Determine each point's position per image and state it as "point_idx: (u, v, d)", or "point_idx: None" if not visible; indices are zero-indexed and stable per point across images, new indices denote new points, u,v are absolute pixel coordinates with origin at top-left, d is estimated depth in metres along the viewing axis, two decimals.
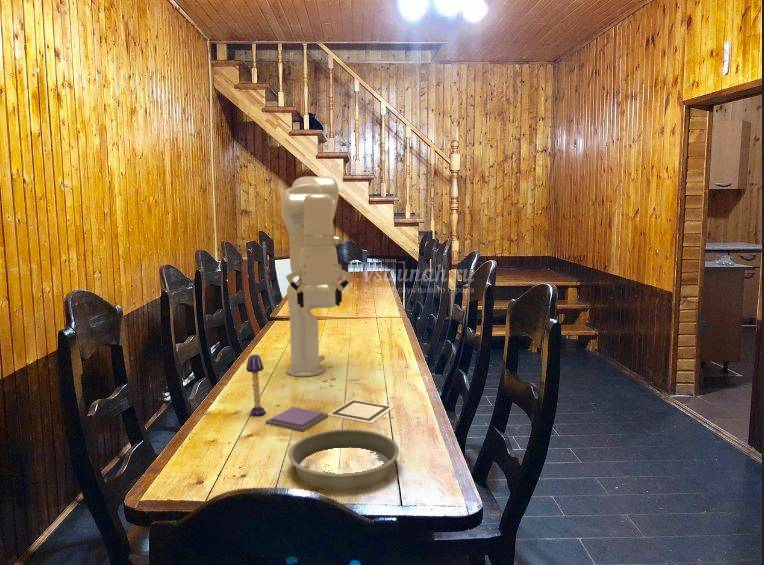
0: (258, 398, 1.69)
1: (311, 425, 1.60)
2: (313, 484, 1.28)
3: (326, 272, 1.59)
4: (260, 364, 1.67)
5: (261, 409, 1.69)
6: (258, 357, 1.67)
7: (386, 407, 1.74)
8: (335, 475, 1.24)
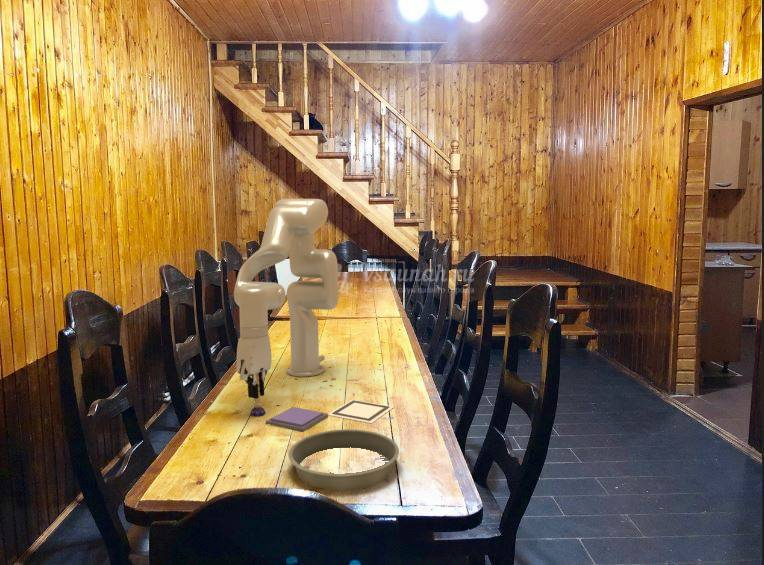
0: (258, 398, 1.69)
1: (311, 425, 1.60)
2: (313, 484, 1.28)
3: (265, 359, 1.68)
4: None
5: (261, 409, 1.69)
6: None
7: (386, 407, 1.74)
8: (335, 475, 1.24)
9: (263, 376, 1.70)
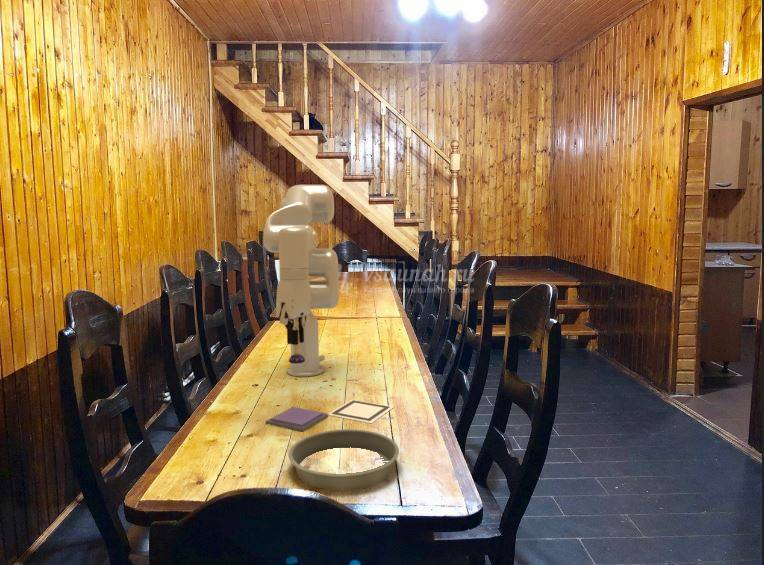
0: (298, 344, 1.61)
1: (311, 425, 1.60)
2: (313, 484, 1.28)
3: (305, 303, 1.61)
4: None
5: (301, 356, 1.62)
6: None
7: (386, 407, 1.74)
8: (335, 475, 1.24)
9: (303, 322, 1.62)
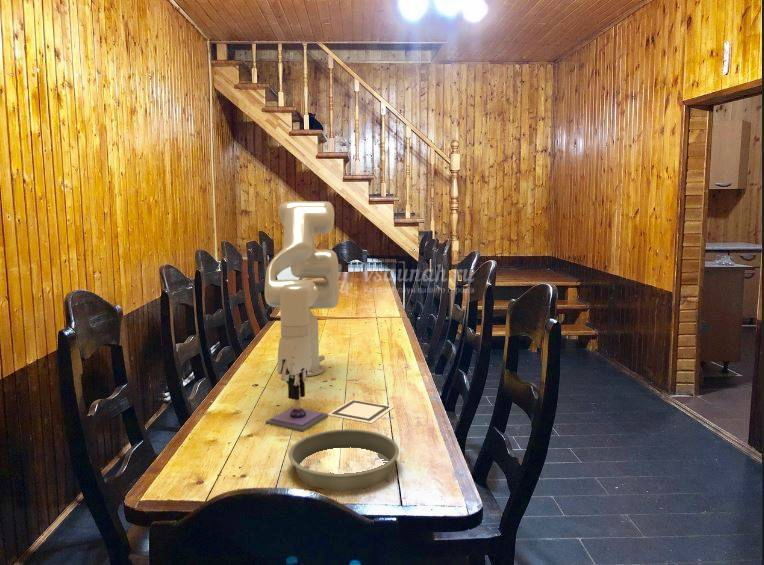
0: (299, 399, 1.64)
1: (311, 425, 1.60)
2: (313, 484, 1.28)
3: (306, 359, 1.63)
4: None
5: (302, 410, 1.64)
6: None
7: (386, 407, 1.74)
8: (335, 475, 1.24)
9: (304, 377, 1.64)
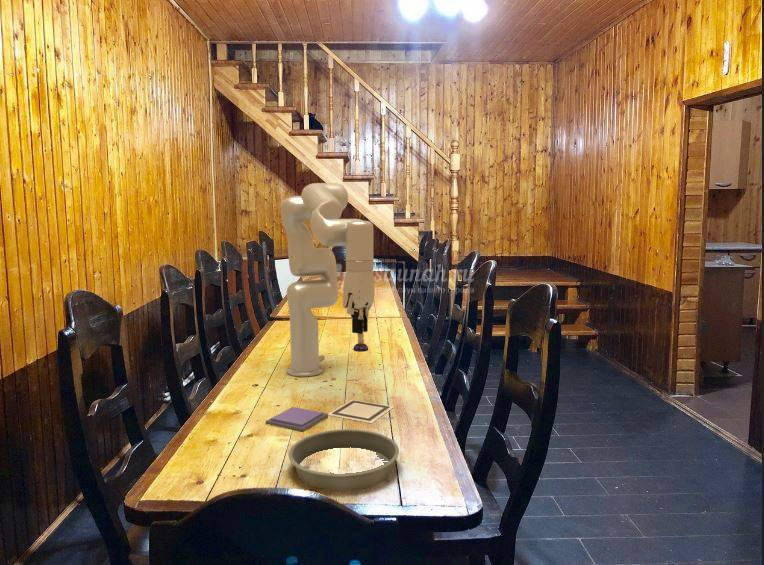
0: (362, 334, 1.68)
1: (311, 425, 1.60)
2: (313, 484, 1.28)
3: (370, 294, 1.68)
4: None
5: (365, 345, 1.68)
6: None
7: (386, 407, 1.74)
8: (335, 475, 1.24)
9: (367, 312, 1.69)
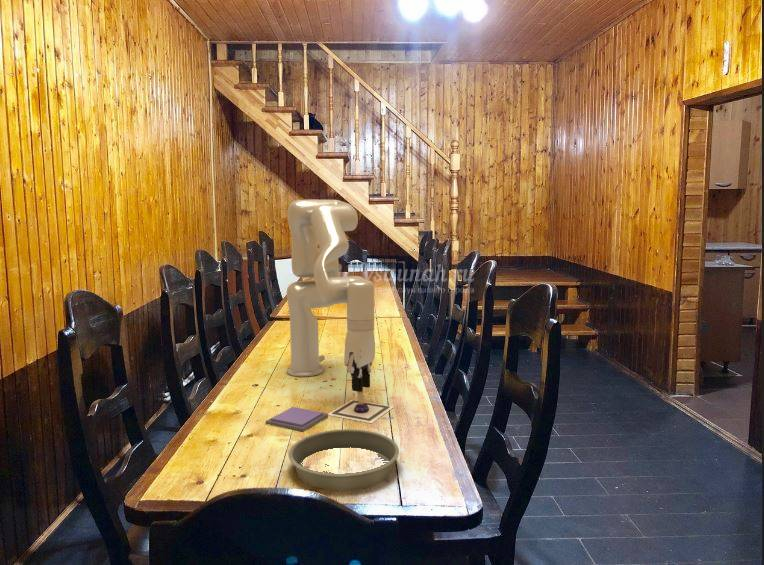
0: (362, 395, 1.71)
1: (311, 425, 1.60)
2: (313, 484, 1.28)
3: (371, 352, 1.70)
4: None
5: (365, 405, 1.71)
6: None
7: (386, 407, 1.74)
8: (335, 475, 1.24)
9: (369, 368, 1.72)
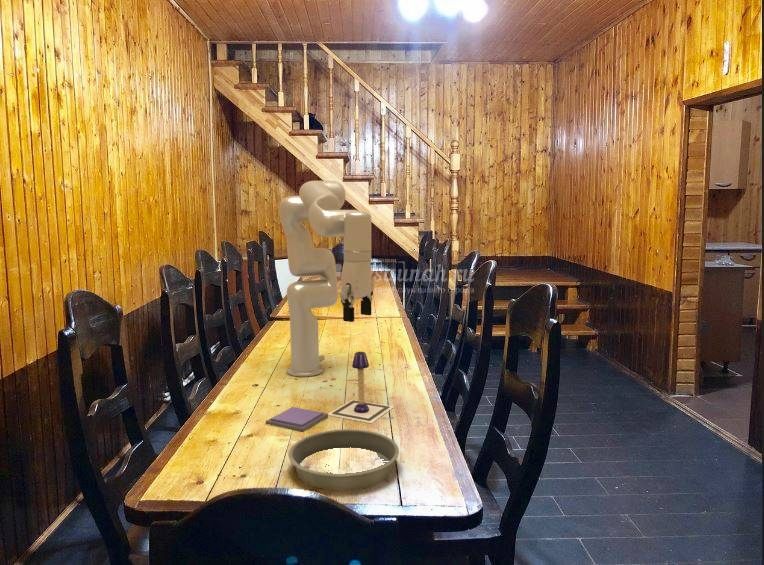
0: (363, 395, 1.71)
1: (311, 425, 1.60)
2: (313, 484, 1.28)
3: (367, 285, 1.69)
4: (366, 361, 1.69)
5: (365, 406, 1.71)
6: (364, 354, 1.69)
7: (386, 407, 1.74)
8: (335, 475, 1.24)
9: (370, 297, 1.73)
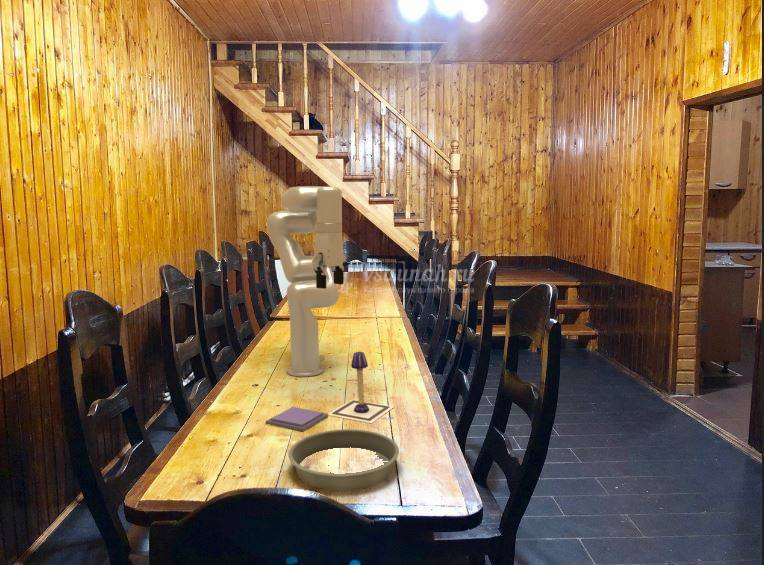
0: (362, 395, 1.71)
1: (311, 425, 1.60)
2: (313, 484, 1.28)
3: (339, 255, 1.82)
4: (365, 361, 1.69)
5: (365, 406, 1.71)
6: (363, 354, 1.69)
7: (386, 407, 1.74)
8: (335, 475, 1.24)
9: (342, 267, 1.86)
